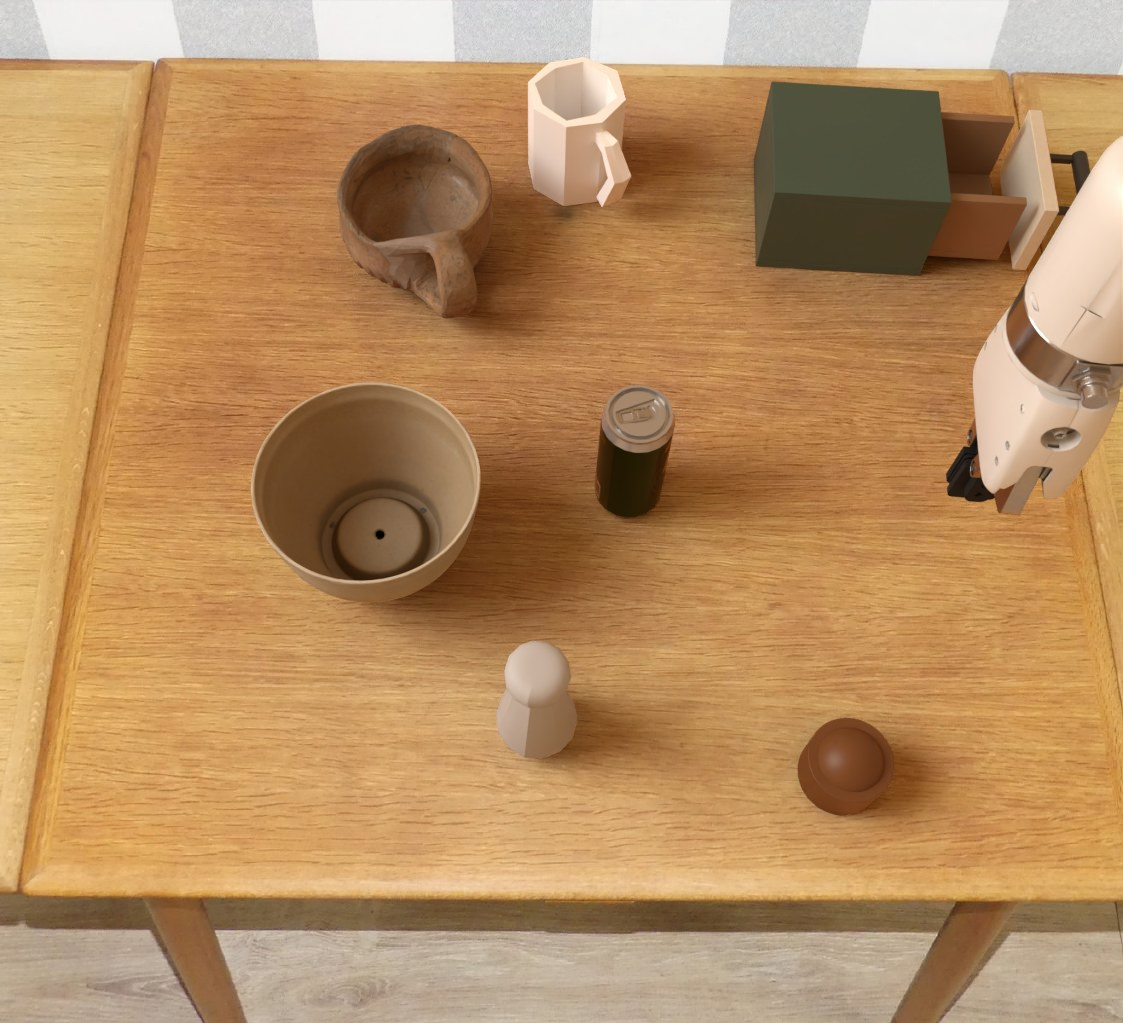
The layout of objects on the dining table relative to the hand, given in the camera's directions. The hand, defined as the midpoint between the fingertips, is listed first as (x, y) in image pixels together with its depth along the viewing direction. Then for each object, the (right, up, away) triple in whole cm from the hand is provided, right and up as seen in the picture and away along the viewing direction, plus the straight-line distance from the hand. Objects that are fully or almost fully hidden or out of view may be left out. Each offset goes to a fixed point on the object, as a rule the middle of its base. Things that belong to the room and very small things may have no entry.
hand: (968, 487), depth 83 cm
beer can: (-22, 0, +16) cm, 27 cm away
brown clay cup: (-39, +20, +26) cm, 51 cm away
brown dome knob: (-8, -21, +5) cm, 23 cm away
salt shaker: (-29, -18, +6) cm, 35 cm away
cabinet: (-3, +25, +29) cm, 39 cm away
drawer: (+10, +25, +28) cm, 39 cm away
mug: (-25, +29, +30) cm, 49 cm away
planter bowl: (-42, -4, +13) cm, 44 cm away
